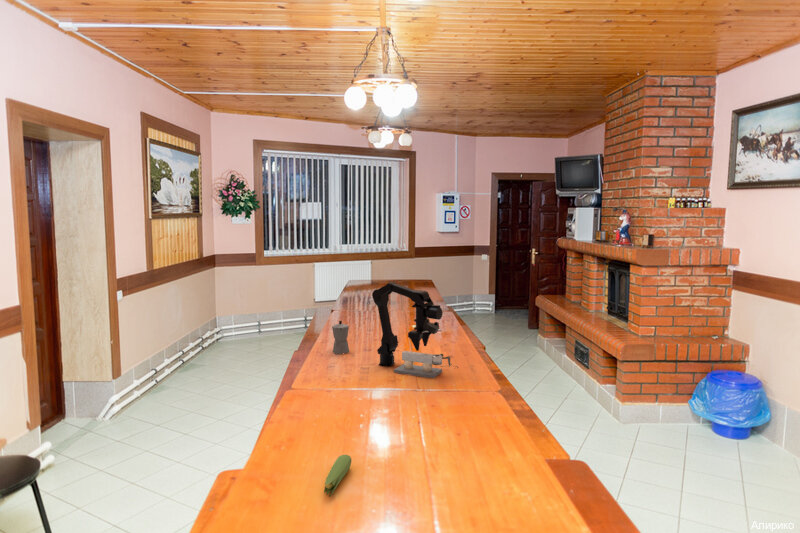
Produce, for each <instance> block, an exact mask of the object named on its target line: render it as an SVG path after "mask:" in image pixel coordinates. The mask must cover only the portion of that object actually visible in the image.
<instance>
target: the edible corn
mask: <svg viewBox="0 0 800 533" xmlns="http://www.w3.org/2000/svg"><path fill="white" fill-rule="evenodd" d="M351 464H352V457H351V456H350V455H348V454H341V455H339V456H338V457H337V458H336V460H335V461H334V463H333V465H332V466H331V467H330V470H329V472H328V474H327V476H326V477H325V482H324V490H323V491H324V492H323V493H324V494H326V496H328V495H329V494H330V495H329V496H330V497H331V496H332V495H333V493H334V492H335V490H336V489H337V488H338V485H339V484H340V483H341V481H342V480H343V478H344V477H345V476H346V474H347V473H348V471H349V470H350V468H351Z"/></svg>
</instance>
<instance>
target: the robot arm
mask: <svg viewBox="0 0 800 533" xmlns="http://www.w3.org/2000/svg"><path fill="white" fill-rule="evenodd" d="M371 293H372V294H371V296H372V300H373V302H374V303H375V306H377V309H378V314H379V315H378V316H379V322H380V327H381V331H382V336H381V340H380V343H381V346H380V347H379V348H377V350H376V351H377V354H378V355H379V363H378V366H382V367H383V366H384V367H391V366H393V365H394V364H396V362H395V355H394V352H396V349H397V347H399V346H398V345H399V340H398V335H396V334H394V333H393V329H392V324H391V319H390V318H391V317H390V313H389V309H388V308H389V306H388V303H389V299H390V296H389V295H390V294H392V293H395V294H398V295H401V296H404V297H406V298H409V299H410V300H411V301H412V302H413V305H411V307H412V308H415V319H414V320H413V322H415V327H414V328H413V330H410V331H409V332H408V333H407V338H409V340H410V341H411V343H412V344H413V347H414V348H415V352H416V351H419V350H420V345H421V340H422V343H423V345H424V347H427V344H428V342H429V338H430V336H431V335H436V334H438V332H439V329H440V323H439V322H438V321H434V322H430V319H432V320H441V319H442V317H443V309H442V308H441V305H440V304H435V303H434V301H433V300H432V299H431V297H430V293H429V292H428V291H427V290H423V289H412V288H410V287H408V286H404V285H401V284H398V283H396V282H395V281H392V282H388V283H387V284H385V285H383V286H381V287H379V288H377V289H374V290H373V291H372V292H371Z"/></svg>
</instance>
